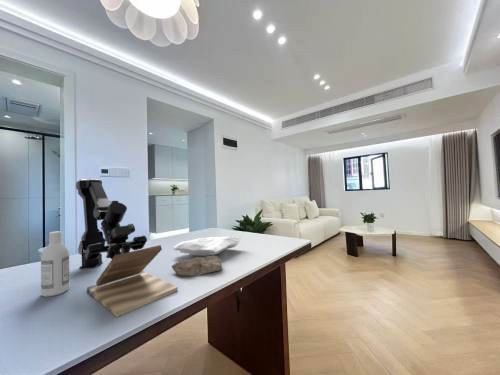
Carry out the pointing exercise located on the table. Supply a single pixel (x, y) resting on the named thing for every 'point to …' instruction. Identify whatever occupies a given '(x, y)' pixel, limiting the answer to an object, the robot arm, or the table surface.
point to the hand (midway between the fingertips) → (125, 266)
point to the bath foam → (54, 267)
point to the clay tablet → (197, 266)
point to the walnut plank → (128, 264)
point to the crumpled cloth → (207, 245)
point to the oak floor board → (131, 292)
